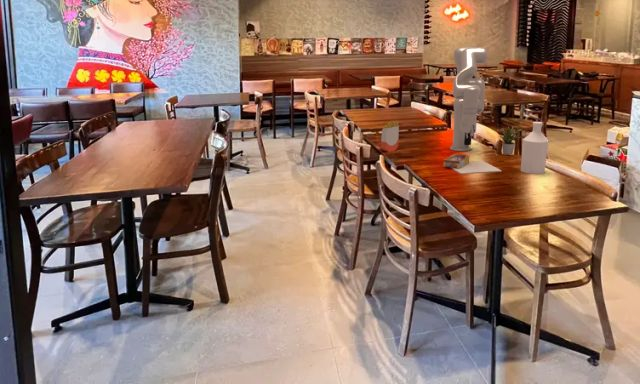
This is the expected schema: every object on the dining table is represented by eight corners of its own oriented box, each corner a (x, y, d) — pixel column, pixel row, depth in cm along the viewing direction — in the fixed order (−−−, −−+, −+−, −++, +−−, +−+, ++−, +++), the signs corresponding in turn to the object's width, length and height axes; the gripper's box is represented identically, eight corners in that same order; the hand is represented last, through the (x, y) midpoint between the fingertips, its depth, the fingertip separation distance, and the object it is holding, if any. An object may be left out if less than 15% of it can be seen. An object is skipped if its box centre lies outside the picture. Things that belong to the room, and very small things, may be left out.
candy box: (453, 161, 283) (443, 166, 272) (454, 153, 282) (443, 158, 270) (469, 163, 279) (459, 168, 267) (470, 155, 277) (459, 160, 265)
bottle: (524, 166, 271) (529, 119, 263) (548, 170, 264) (553, 121, 256) (516, 171, 262) (521, 123, 255) (540, 175, 255) (546, 125, 247)
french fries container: (380, 151, 311) (381, 122, 306) (392, 148, 318) (393, 119, 313) (386, 152, 308) (386, 123, 303) (398, 149, 315) (399, 120, 309)
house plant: (523, 157, 291) (526, 128, 286) (498, 156, 294) (500, 128, 289) (519, 151, 304) (522, 124, 299) (495, 150, 307) (497, 123, 302)
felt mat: (445, 164, 278) (445, 163, 278) (483, 162, 281) (483, 161, 281) (460, 174, 259) (460, 173, 259) (501, 171, 263) (501, 170, 262)
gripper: (457, 108, 276) (455, 142, 282) (469, 113, 262) (466, 148, 268) (470, 108, 277) (468, 141, 283) (483, 113, 263) (480, 147, 269)
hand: (467, 144), depth 275 cm, fingers closed
